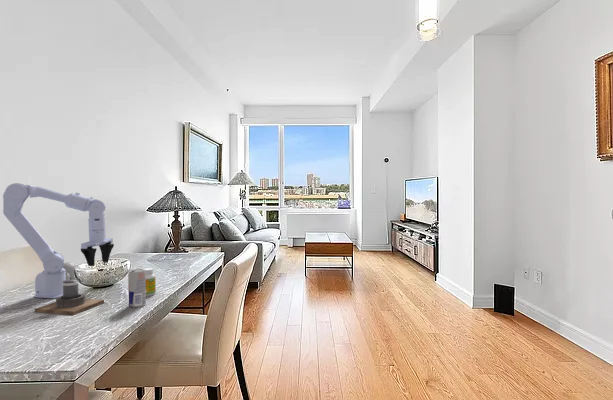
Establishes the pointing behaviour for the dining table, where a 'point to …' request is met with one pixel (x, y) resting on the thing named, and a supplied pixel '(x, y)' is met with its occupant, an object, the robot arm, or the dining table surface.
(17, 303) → the dining table surface
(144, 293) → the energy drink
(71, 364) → the dining table surface
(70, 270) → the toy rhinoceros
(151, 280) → the supplement bottle
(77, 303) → the mount
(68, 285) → the lens
